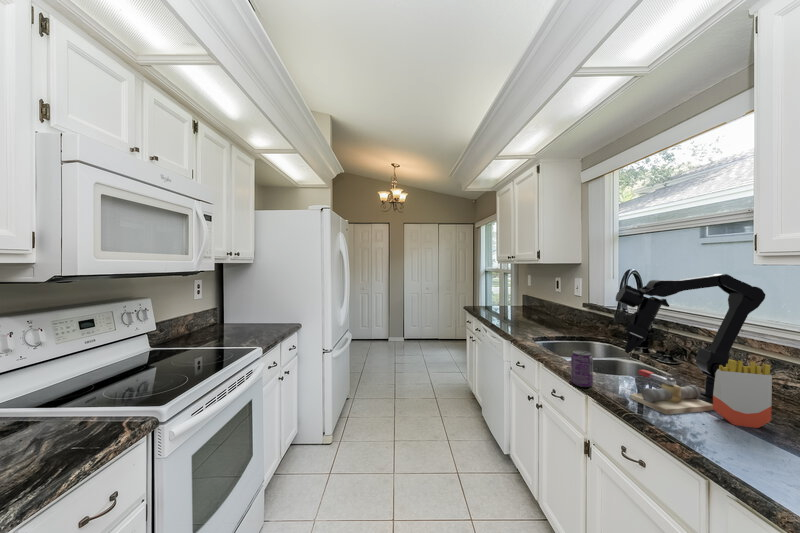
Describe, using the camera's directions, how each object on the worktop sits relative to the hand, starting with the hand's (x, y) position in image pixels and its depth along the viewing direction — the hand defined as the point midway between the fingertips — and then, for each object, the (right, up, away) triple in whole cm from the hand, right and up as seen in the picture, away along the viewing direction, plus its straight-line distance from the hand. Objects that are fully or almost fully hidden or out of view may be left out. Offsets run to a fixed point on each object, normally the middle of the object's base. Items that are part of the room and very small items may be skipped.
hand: (627, 352), depth 119 cm
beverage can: (-15, -13, +3) cm, 20 cm away
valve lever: (+4, -7, -9) cm, 12 cm away
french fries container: (+14, -14, -26) cm, 33 cm away
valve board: (+5, -13, -13) cm, 19 cm away
